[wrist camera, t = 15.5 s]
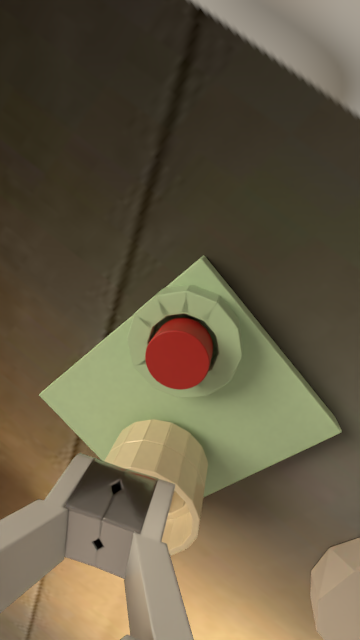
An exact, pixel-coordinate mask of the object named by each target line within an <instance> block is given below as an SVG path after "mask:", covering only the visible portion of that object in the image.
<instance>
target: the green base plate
mask: <svg viewBox="0 0 360 640" xmlns="http://www.w3.org/2000/svg"><path fill="white" fill-rule="evenodd" d="M175 318H188V319H192V320H194V321H197V322H198V323H200V324H201V325H203V326H204V327H205V328H206V329H207V331H208V332H209V334H210V336H211V338H212V342H213V353H212V358H211V362H210V366H209V370H208V373H207V375H206V377H205V378H204V380H203V381H202V382H200V383H199V384H198V385H196V386H194V387H192V388H189V389H183V390H178V389H172V388H169V387H166V386H164V385H162V384H160V383H159V382H158V381H156V380H155V379H154V378H153V376H152V375H151V374H150V372H149V370H148V368H147V365H146V360H145V353H146V348H147V346H148V344H149V342H150V341H151V339H152V338H153V337H154V335H155V334H156V333H157V331H158V330H159V329H160V327H161V326H162V325H163V324H164V323H166V322H167V321H169V320H172V319H175ZM39 396H40V397H41V398H42V399H43V400H44V401H45V402H46V403H47V404H48V405H49V406H50V407H51V408H52V409H53V410H54V411H55V412H56V413H57V414H58V415H59V416H60V417H61V418H62V419H63V421H64V422H65V423H66V424H67V425H68V426H69V427H70V428H71V429H72V430H73V431H74V432H75V433H76V434H77V435H78V436H79V437H80V438H81V439H82V440H83V441H84V442H85V443H86V444H87V445H88V446H89V447H90V448H91V449H92V450H93V451H94V453H95V454H96V455H97V456H98V457H99V458H100V459H101V460H102V461H105V459H106V457H107V455H108V454H109V452H110V450H111V448H112V447H113V445H114V443H115V441H116V440H117V438H118V436H119V434H120V433H121V431H122V430H123V429H125V428H126V427H128V426H129V425H131V424H133V423H134V422H138V421H144V420H150V419H152V420H153V419H156V420H161V421H166V422H171V423H174V424H175V425H177V426H179V427H181V428H183V429H184V430H186V431H188V432H189V433H191V435H192V436H193V437H194V438H195V439H196V440H197V441H198V442H199V443H200V445H201V446H202V447H203V450H204V453H205V456H206V458H207V461H208V469H207V476H206V483H205V490H204V497H205V496H208V495H210V494H212V493H214V492H216V491H218V490H220V489H222V488H225V487H227V486H229V485H231V484H233V483H235V482H237V481H239V480H242V479H244V478H246V477H248V476H250V475H252V474H254V473H256V472H259V471H261V470H263V469H265V468H267V467H269V466H271V465H274V464H276V463H278V462H280V461H282V460H284V459H286V458H288V457H291V456H293V455H295V454H297V453H299V452H301V451H303V450H305V449H308V448H310V447H312V446H314V445H316V444H318V443H320V442H322V441H325V440H327V439H329V438H331V437H333V436H335V435H337V434H340V433H341V432H342V431H341V428H340V426H339V424H338V422H337V420H336V418H335V416H334V415H333V414H332V413H331V411H330V410H329V409H328V408H327V406H326V405H325V404H324V403H323V401H322V400H321V399H320V398H319V396H318V395H317V394H316V393H315V392H314V390H313V389H312V388H311V387H310V385H309V384H308V383H307V382H306V380H305V379H304V378H303V377H302V375H301V374H300V373H299V372H298V370H297V369H296V368H295V367H294V366H293V364H292V363H291V362H290V361H289V359H288V358H287V357H286V356H285V354H284V353H283V352H282V351H281V349H280V348H279V347H278V346H277V345H276V343H275V342H274V341H273V340H272V338H271V337H270V336H269V335H268V333H267V332H266V331H265V330H264V328H263V327H262V326H261V325H260V323H259V322H258V321H257V320H256V319H255V317H254V316H253V315H252V314H251V312H250V311H249V310H248V309H247V307H246V306H245V305H244V304H243V302H242V301H241V300H240V299H239V297H238V296H237V295H236V294H235V293H234V291H233V290H232V289H231V288H230V286H229V285H228V284H227V283H226V281H225V280H224V279H223V278H222V276H221V275H220V274H219V273H218V272H217V270H216V269H215V268H214V267H213V265H212V264H211V263H210V262H209V260H208V259H207V258H206V257H205V256H202V257H201V258H200V259H199V260H197V261H196V262H195V263H194V264H193V265H191V266H190V267H189V268H188V269H187V270H185V271H184V272H183V273H182V274H181V275H180V276H178V277H177V278H176V279H175V280H174V281H172V282H171V283H170V284H169V285H168V286H167V287H165V288H164V289H162V290H161V291H160V292H158V293H157V294H156V295H155V296H154V297H153V298H151V299H150V300H149V301H148V302H147V303H145V304H144V305H143V306H142V307H141V308H140V309H139V310H137V311H136V312H135V313H134V314H133V315H132V316H131V317H130V318H129V319H127V320H126V321H125V322H124V323H123V324H121V325H120V326H119V327H118V328H117V329H116V330H114V331H113V332H112V333H111V334H110V335H108V336H107V337H106V338H105V339H104V340H102V341H101V342H100V343H99V344H98V345H97V346H95V347H94V348H93V349H92V350H91V351H89V352H88V353H87V354H86V355H85V356H84V357H82V358H81V359H80V360H79V361H78V362H76V363H75V364H74V365H73V366H72V367H70V368H69V369H68V370H67V371H66V372H65V373H63V374H62V375H61V376H60V377H59V378H57V379H56V380H55V381H54V382H53V383H51V384H50V385H49V386H48V387H47V388H46V389H45V390H43V391H42V392H41V393H40V394H39Z"/></svg>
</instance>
